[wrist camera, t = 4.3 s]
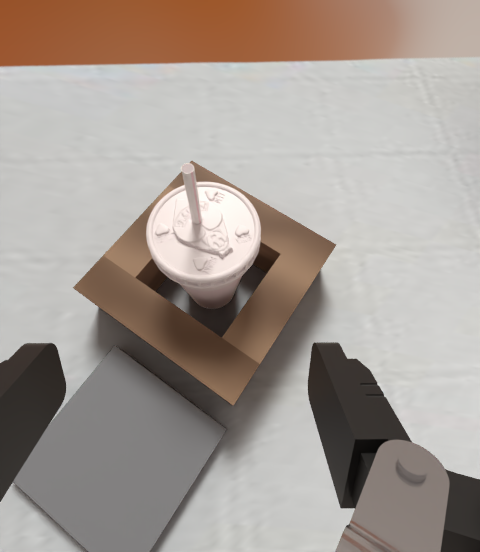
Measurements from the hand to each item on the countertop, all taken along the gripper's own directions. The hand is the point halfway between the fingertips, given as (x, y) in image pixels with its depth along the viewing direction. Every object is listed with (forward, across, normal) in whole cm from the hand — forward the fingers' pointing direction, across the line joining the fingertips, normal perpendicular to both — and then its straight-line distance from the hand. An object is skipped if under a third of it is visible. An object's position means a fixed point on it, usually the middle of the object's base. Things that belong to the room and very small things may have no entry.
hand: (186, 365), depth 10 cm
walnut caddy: (+16, 0, +5) cm, 17 cm away
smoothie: (+16, 0, +5) cm, 17 cm away
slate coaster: (+8, +6, +13) cm, 16 cm away
